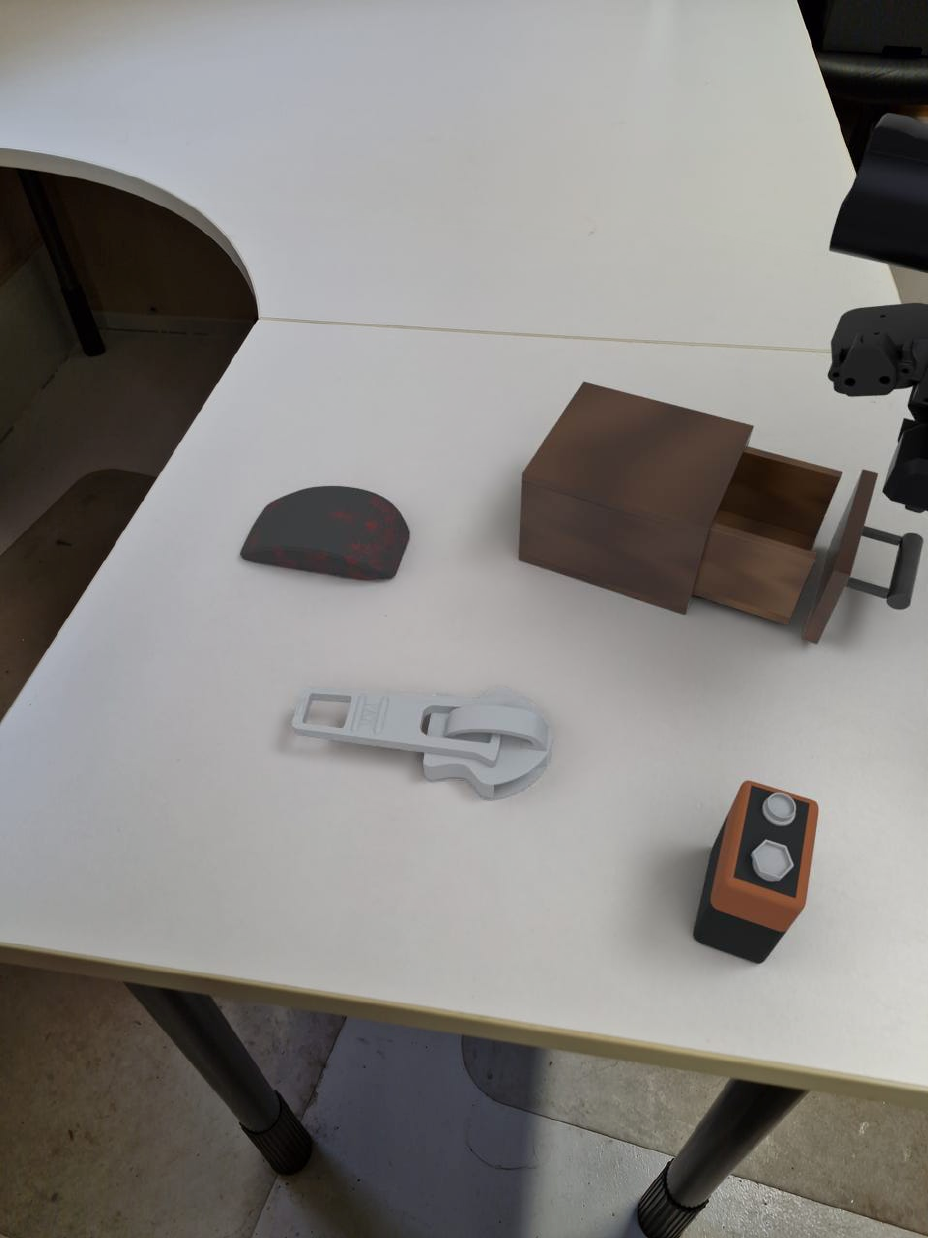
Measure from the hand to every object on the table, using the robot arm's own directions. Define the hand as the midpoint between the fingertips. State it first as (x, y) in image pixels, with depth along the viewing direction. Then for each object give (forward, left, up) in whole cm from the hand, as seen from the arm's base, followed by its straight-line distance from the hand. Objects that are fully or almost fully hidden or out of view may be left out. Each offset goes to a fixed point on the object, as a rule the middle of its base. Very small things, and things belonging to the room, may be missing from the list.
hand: (913, 508), depth 57 cm
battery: (+2, +26, -13) cm, 29 cm away
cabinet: (+19, -2, -13) cm, 23 cm away
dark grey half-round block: (+42, +10, -13) cm, 45 cm away
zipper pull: (+25, +24, -13) cm, 37 cm away
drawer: (+6, -2, -12) cm, 14 cm away
